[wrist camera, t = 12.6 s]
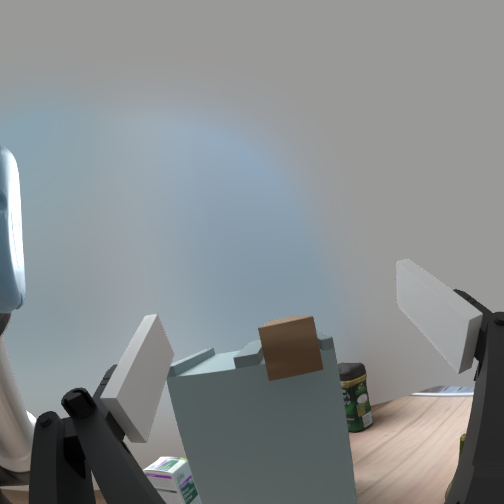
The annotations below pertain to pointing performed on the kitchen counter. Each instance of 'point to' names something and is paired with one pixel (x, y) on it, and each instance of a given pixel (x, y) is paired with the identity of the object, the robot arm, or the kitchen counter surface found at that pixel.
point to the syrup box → (173, 480)
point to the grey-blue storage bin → (263, 429)
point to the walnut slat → (290, 347)
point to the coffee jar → (355, 396)
